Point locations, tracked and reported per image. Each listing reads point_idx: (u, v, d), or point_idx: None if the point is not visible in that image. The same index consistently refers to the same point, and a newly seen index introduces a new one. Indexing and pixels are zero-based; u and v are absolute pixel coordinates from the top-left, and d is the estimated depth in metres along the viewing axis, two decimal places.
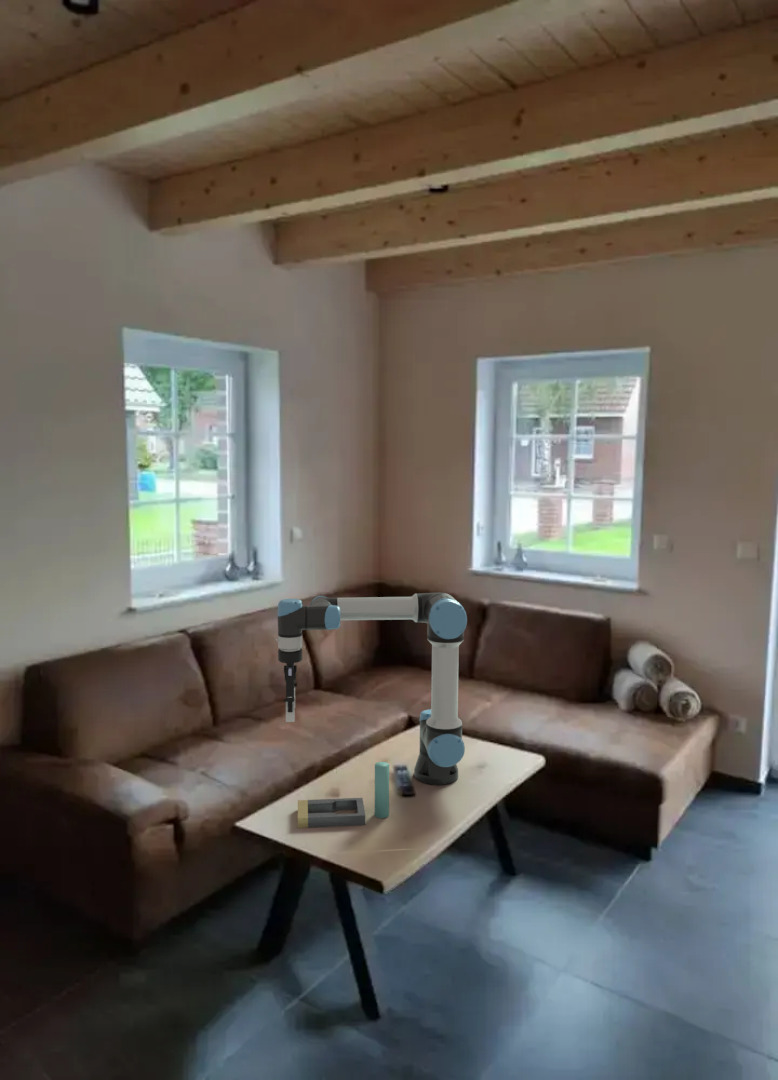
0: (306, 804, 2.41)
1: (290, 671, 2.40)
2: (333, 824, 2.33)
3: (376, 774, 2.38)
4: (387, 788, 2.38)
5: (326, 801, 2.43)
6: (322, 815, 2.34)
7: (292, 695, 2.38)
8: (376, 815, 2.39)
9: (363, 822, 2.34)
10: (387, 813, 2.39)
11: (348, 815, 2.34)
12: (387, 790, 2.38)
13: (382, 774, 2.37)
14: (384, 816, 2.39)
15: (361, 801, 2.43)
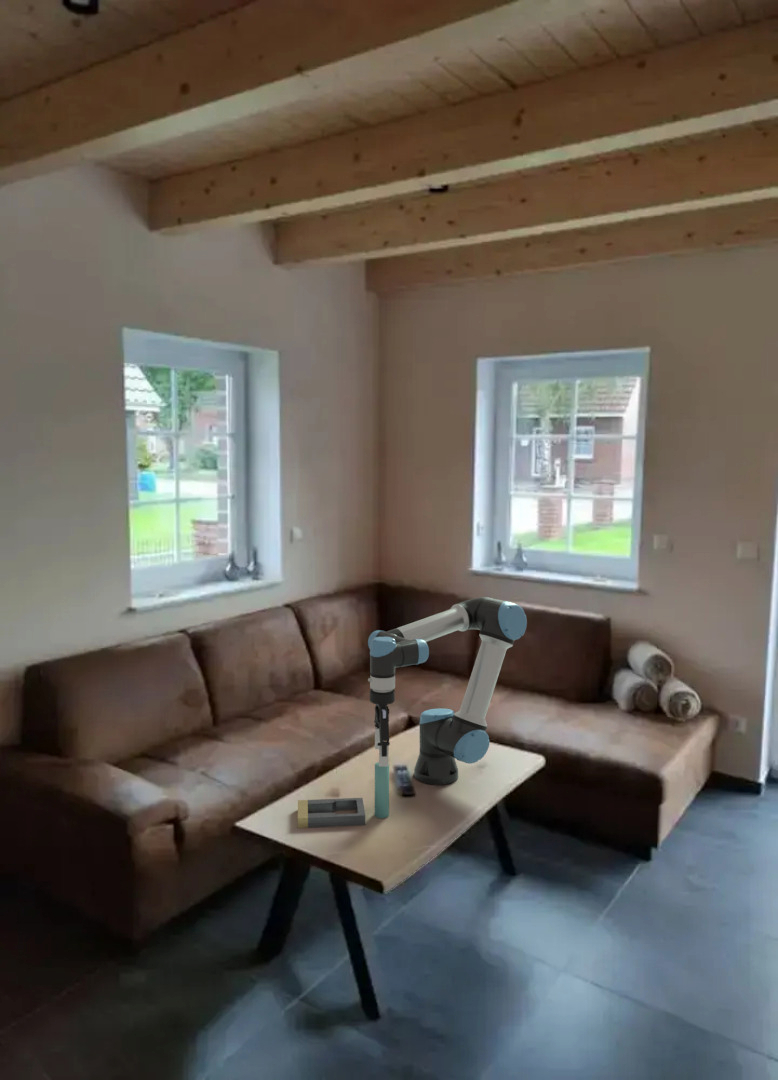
0: (306, 804, 2.41)
1: (384, 713, 2.30)
2: (333, 824, 2.33)
3: (376, 774, 2.38)
4: (387, 788, 2.38)
5: (326, 801, 2.43)
6: (322, 815, 2.34)
7: (387, 739, 2.28)
8: (376, 815, 2.39)
9: (363, 822, 2.34)
10: (387, 813, 2.39)
11: (348, 815, 2.34)
12: (387, 790, 2.38)
13: (382, 774, 2.37)
14: (384, 816, 2.39)
15: (361, 801, 2.43)
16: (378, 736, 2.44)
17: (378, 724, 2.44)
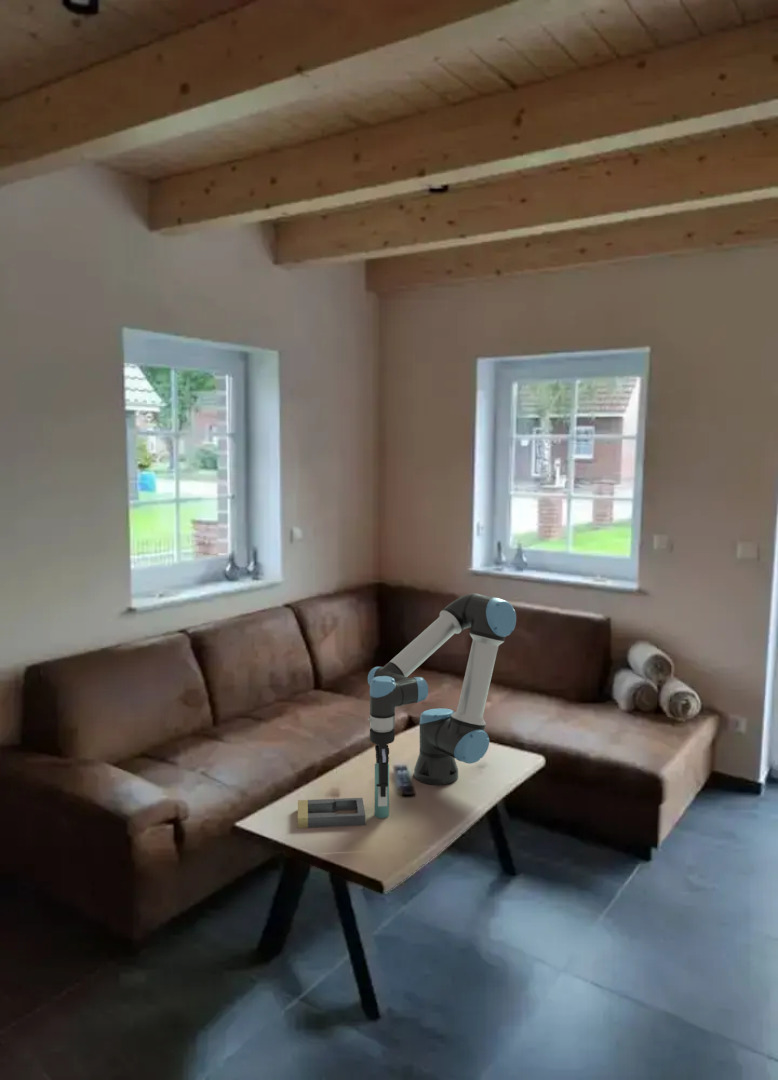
0: (306, 804, 2.41)
1: (384, 759, 2.32)
2: (333, 824, 2.33)
3: (376, 774, 2.38)
4: (387, 788, 2.38)
5: (326, 801, 2.43)
6: (322, 815, 2.34)
7: (386, 781, 2.33)
8: (376, 815, 2.39)
9: (363, 822, 2.34)
10: (387, 813, 2.39)
11: (348, 815, 2.34)
12: (387, 790, 2.38)
13: None
14: (384, 816, 2.39)
15: (361, 801, 2.43)
16: None
17: None
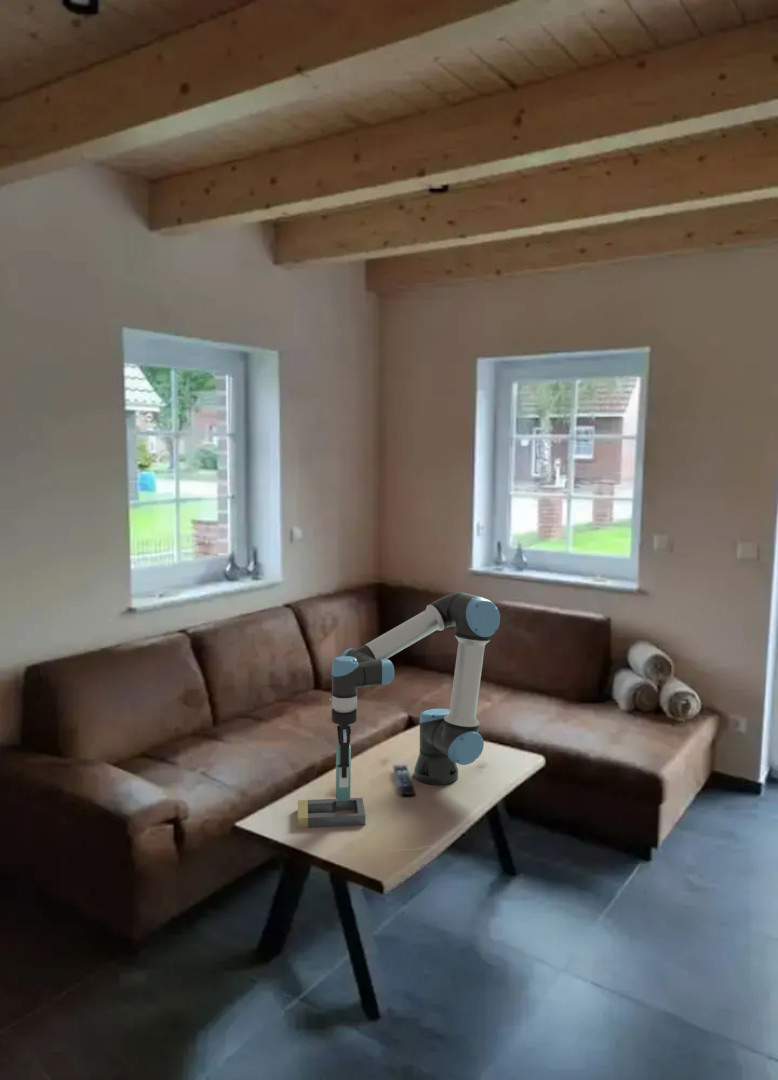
0: (306, 804, 2.41)
1: (345, 739, 2.30)
2: (333, 824, 2.33)
3: (338, 756, 2.36)
4: None
5: (326, 801, 2.43)
6: (322, 815, 2.34)
7: (347, 762, 2.31)
8: (337, 797, 2.37)
9: (363, 822, 2.34)
10: (348, 795, 2.37)
11: (348, 815, 2.34)
12: None
13: None
14: (345, 798, 2.37)
15: (361, 801, 2.43)
16: None
17: None
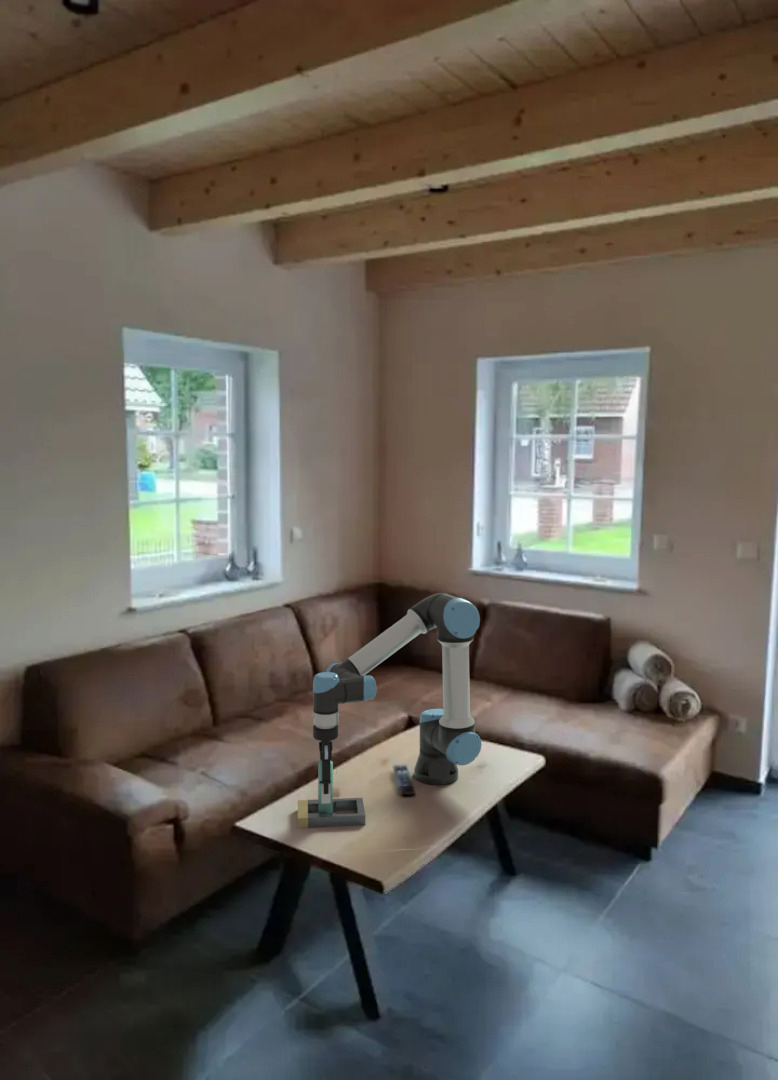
0: (306, 804, 2.41)
1: (326, 756, 2.30)
2: (333, 824, 2.33)
3: (320, 772, 2.36)
4: None
5: None
6: (322, 815, 2.34)
7: (328, 778, 2.31)
8: None
9: (363, 822, 2.34)
10: (331, 811, 2.37)
11: (348, 815, 2.34)
12: None
13: None
14: None
15: (361, 801, 2.43)
16: None
17: None
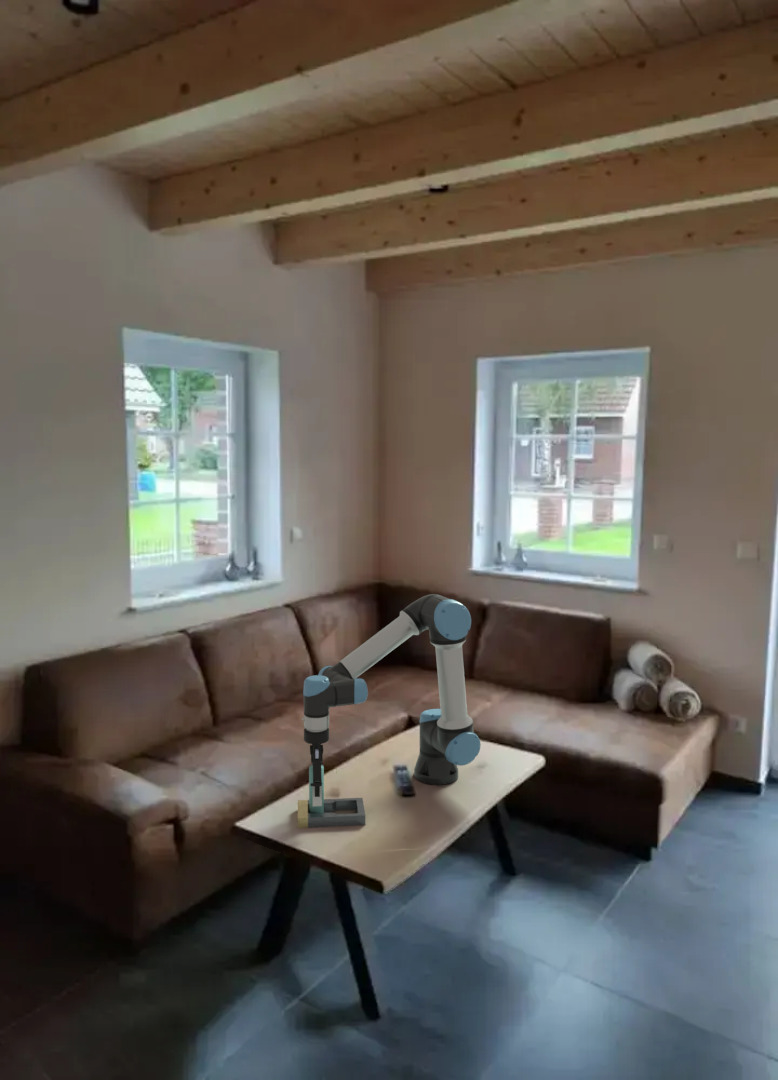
0: (306, 804, 2.41)
1: (317, 754, 2.29)
2: (333, 824, 2.33)
3: (310, 777, 2.35)
4: None
5: (326, 801, 2.43)
6: (322, 815, 2.34)
7: (319, 779, 2.27)
8: None
9: (363, 822, 2.34)
10: None
11: (348, 815, 2.34)
12: None
13: None
14: None
15: (361, 801, 2.43)
16: None
17: None
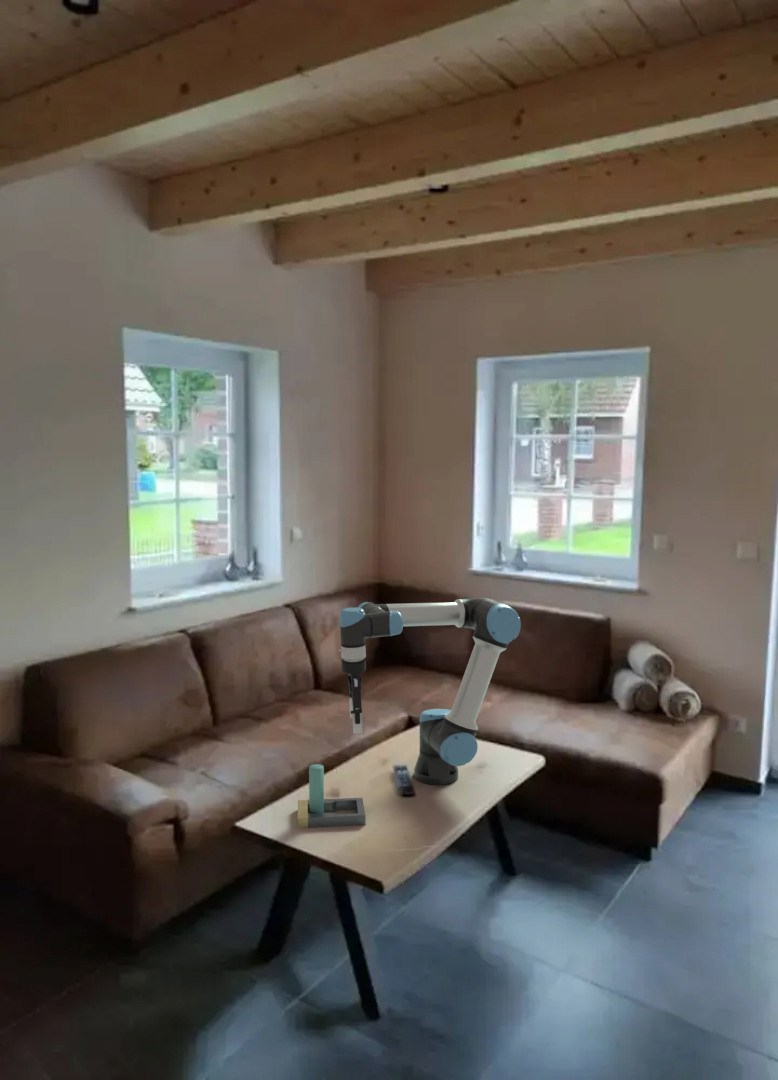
0: (306, 804, 2.41)
1: (356, 682, 2.35)
2: (333, 824, 2.33)
3: (310, 777, 2.35)
4: (321, 791, 2.36)
5: (326, 801, 2.43)
6: (322, 815, 2.34)
7: (360, 706, 2.33)
8: None
9: (363, 822, 2.34)
10: None
11: (348, 815, 2.34)
12: (321, 793, 2.36)
13: (316, 776, 2.35)
14: None
15: (361, 801, 2.43)
16: (352, 705, 2.49)
17: (352, 693, 2.49)
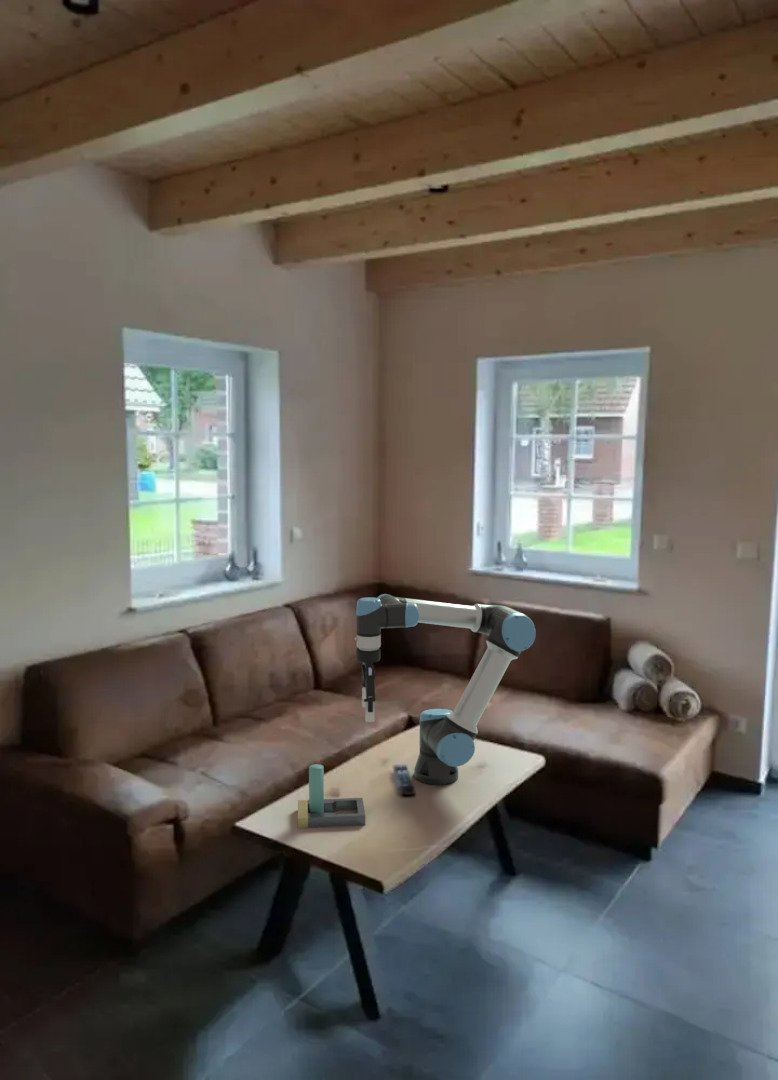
0: (306, 804, 2.41)
1: (370, 670, 2.38)
2: (333, 824, 2.33)
3: (310, 777, 2.35)
4: (321, 791, 2.36)
5: (326, 801, 2.43)
6: (322, 815, 2.34)
7: (373, 695, 2.36)
8: None
9: (363, 822, 2.34)
10: None
11: (348, 815, 2.34)
12: (321, 793, 2.36)
13: (316, 776, 2.35)
14: None
15: (361, 801, 2.43)
16: (365, 695, 2.52)
17: (365, 683, 2.52)
